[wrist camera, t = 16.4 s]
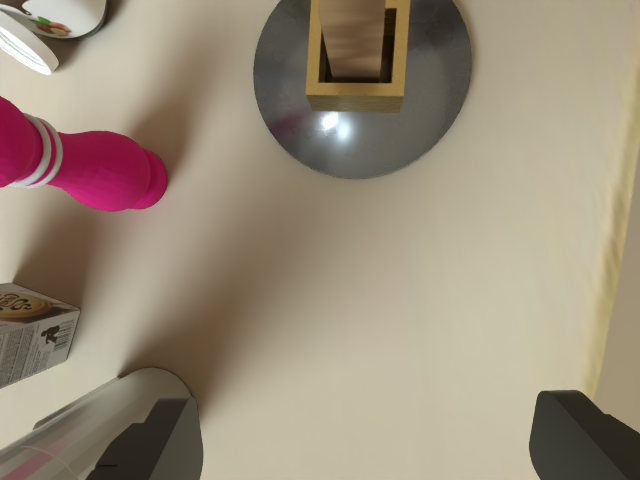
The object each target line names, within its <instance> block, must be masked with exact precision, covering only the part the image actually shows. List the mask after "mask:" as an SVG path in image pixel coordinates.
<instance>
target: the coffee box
mask: <svg viewBox="0 0 640 480" xmlns="http://www.w3.org/2000/svg"><path fill="white" fill-rule="evenodd" d="M79 314H80V309H79V308H77V307H74V306H72V305H69V304H66V303H64V302H61V301H58V300H56V299H53V298H50V297H48V296H45V295H42V294H40V293H37V292H34V291H31V290H29V289H26V288H23V287H21V286H18V285H15V284H13V283H4V284H0V389H1V388H4V387H6V386H8V385H11V384H13V383H16V382H18V381H20V380H23V379H25V378H27V377H30V376H32V375H34V374H37V373H39V372H41V371H44V370H46V369H49V368H51V367H53V366H56V365H58V364H60V363H63V362H65V361H66V358H67V355H68V351H69V348H70V345H71V341H72V338H73V335H74V331H75V328H76V324H77V321H78V317H79Z"/></svg>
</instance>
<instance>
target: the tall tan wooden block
mask: <svg viewBox="0 0 640 480" xmlns="http://www.w3.org/2000/svg"><path fill="white" fill-rule="evenodd" d="M385 6H386V0H319V1H318V13H319V18H320V23H321V27H322V32H323V36H324V41H325V46H326V50H327V55H328V59H329V64H330V68H331V73H332V78H333V82H334V83H379V80H380V68H381V56H382V44H383V32H384V19H385Z"/></svg>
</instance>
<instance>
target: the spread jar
mask: <svg viewBox="0 0 640 480" xmlns="http://www.w3.org/2000/svg"><path fill="white" fill-rule="evenodd" d="M107 8H108V0H0V48H2V49H3V50H4V51H6V52H7V53H8V54H10V55H11V56H13V57H14V58H15V59H17V60H18V61H20V62H22V63H23V64H25V65H26V66H28V67H30V68H32V69H34V70H35V71H38V72H40V73H42V74H45V75H50V74H52V72H53V71H54V70H55V69H56V67H57V66H58V65H59V62H58V60H57V58H56V56H55V55H54V54H53V52H52V51H51V50H50V49H49V48H48V47H47V46H46V45H45V44H44V43H43V42H42V41H41V40H40V39H39V38H38V37H37V36H35V35H34V34H33V33H32V32H31V31H33V32H35V33H38V34H41V35H44V36H48V37H52V38H56V39H62V40H71V41H73V40H81V39H85V38H87V37H89V36H91V35H93V34H94V33H95V32H96V31H97V30H98V29H99V28H100V27H101V26H102V24H103V22H104V20H105V17H106V13H107ZM29 30H30V31H29Z"/></svg>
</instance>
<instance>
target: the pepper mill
mask: <svg viewBox="0 0 640 480" xmlns="http://www.w3.org/2000/svg"><path fill="white" fill-rule="evenodd" d="M45 184H48V185H52V186H56V187H60V188H62V189H64V190H65V191H67V192H68V193H69V194H70V195H71V196H73V197H74V198H75V199H76V200H78V201H79V202H81V203H83V204H85V205H87V206H89V207H91V208H94V209H98V210H103V211H109V212H115V211H122V210H125V209H128V208H130V209H145V208H148V207H150V206H152V205H154V204H155V203H156V202H157V201H158V200H159V199H160V198H161V197H162V195H163V193H164V191H165V188H166V184H167V174H166V170H165V167H164V165H163V163H162V161H161V160H160V159H159V157H158V156H156V155H155V154H154V153H152V152H150V151H148V150H146V149H143V148H141V147H140V146H139V145H138V144H137V143H136V142H134V141H133V140H132V139H130V138H128V137H126V136H124V135H121V134H117V133H114V132H109V131H89V132H83V133H77V134H64V133H60V132H57V131H56V130H55V129H54V128H53V127H52V125H50V124H49V123H48V122H46V121H45V120H43V119H40V118H37V117H33V116H31V115H29V114H26V113H22V112H21V111H20V110H19V109H18V108H17V107H16V106H15V105H13V104H12V103H11V102H10V101H8V100H7V99H5V98H3V97H1V96H0V188H1V187H4V186H7V185H8V186H13V187H22V188H37V187H41V186H43V185H45Z"/></svg>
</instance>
